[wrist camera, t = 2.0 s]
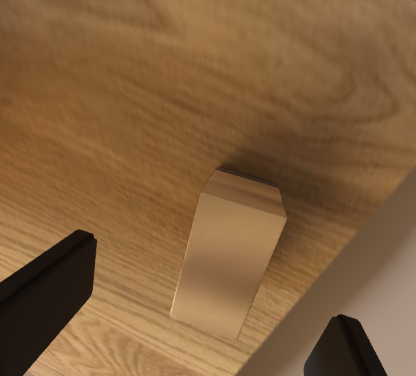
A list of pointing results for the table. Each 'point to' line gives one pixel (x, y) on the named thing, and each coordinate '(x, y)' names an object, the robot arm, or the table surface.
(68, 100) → the table surface
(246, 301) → the wooden block
